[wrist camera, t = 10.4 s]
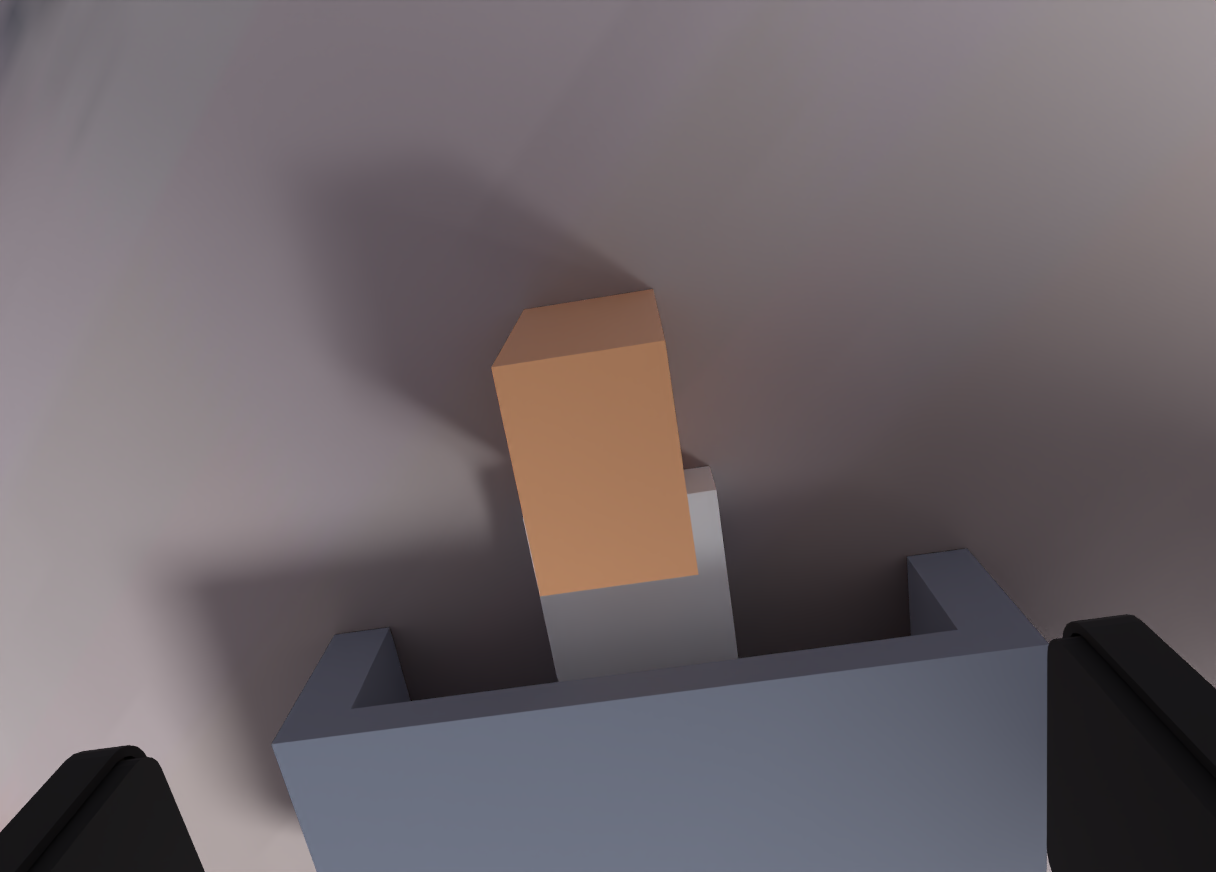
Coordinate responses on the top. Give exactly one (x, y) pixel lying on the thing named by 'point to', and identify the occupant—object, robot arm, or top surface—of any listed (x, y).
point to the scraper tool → (611, 492)
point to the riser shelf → (695, 756)
